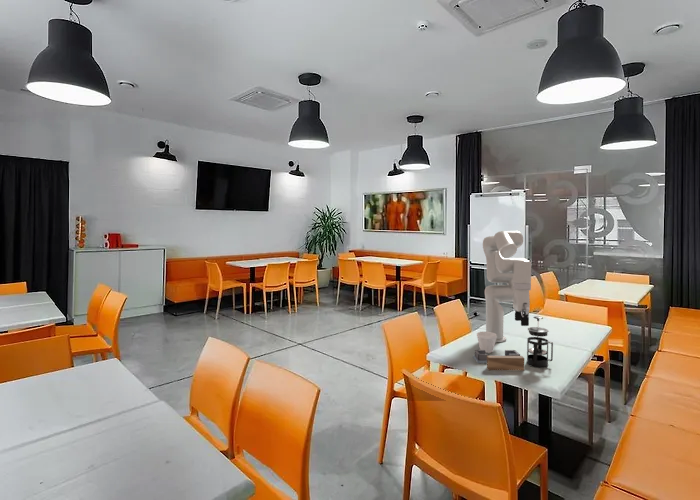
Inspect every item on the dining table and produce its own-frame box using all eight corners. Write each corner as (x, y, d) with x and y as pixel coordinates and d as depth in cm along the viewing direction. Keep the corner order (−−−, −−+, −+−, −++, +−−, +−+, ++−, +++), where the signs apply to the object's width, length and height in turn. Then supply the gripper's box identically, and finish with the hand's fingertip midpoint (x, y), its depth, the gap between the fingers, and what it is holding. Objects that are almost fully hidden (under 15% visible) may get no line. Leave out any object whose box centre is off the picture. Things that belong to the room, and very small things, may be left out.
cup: (496, 349, 207) (496, 332, 206) (497, 355, 197) (497, 337, 197) (476, 347, 210) (476, 330, 209) (476, 353, 201) (476, 336, 200)
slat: (486, 368, 181) (486, 355, 181) (521, 368, 180) (521, 355, 180) (488, 370, 178) (488, 357, 178) (524, 370, 177) (524, 358, 177)
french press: (522, 364, 184) (523, 317, 183) (527, 359, 192) (528, 313, 190) (549, 370, 177) (551, 320, 175) (554, 364, 184) (555, 316, 183)
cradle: (473, 357, 195) (473, 349, 195) (515, 357, 194) (515, 349, 194) (477, 363, 187) (477, 355, 187) (521, 363, 186) (521, 354, 186)
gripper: (508, 283, 187) (508, 318, 188) (518, 289, 170) (518, 327, 171) (524, 283, 186) (524, 318, 187) (536, 289, 169) (536, 328, 170)
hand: (521, 323), depth 179 cm, fingers open, 9 cm apart
